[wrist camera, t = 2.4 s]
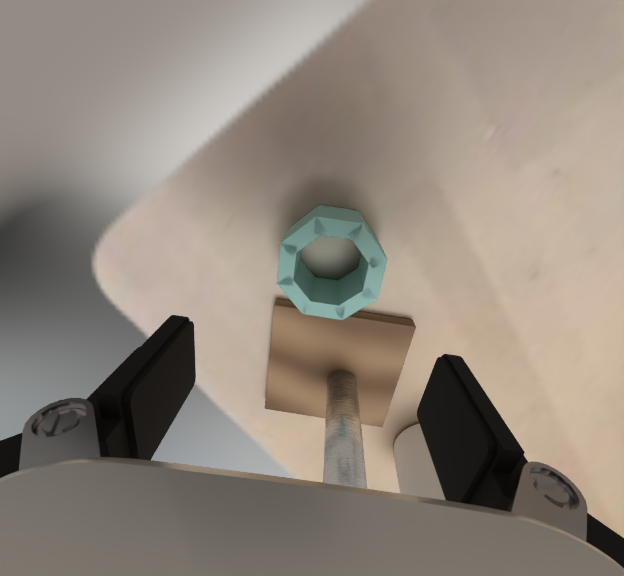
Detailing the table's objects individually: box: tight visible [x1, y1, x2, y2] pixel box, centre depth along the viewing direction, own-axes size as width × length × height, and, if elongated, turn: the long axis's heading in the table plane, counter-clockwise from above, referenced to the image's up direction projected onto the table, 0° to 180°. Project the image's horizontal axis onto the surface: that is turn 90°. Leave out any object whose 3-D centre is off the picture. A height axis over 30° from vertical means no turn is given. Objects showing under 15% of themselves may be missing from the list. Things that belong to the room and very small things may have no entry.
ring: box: [277, 205, 387, 320], centre depth 22 cm, size 7×7×4 cm
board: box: [265, 299, 416, 427], centre depth 28 cm, size 12×12×1 cm
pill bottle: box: [394, 423, 445, 500], centre depth 25 cm, size 8×8×15 cm
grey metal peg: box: [323, 370, 367, 489], centre depth 23 cm, size 3×3×11 cm
